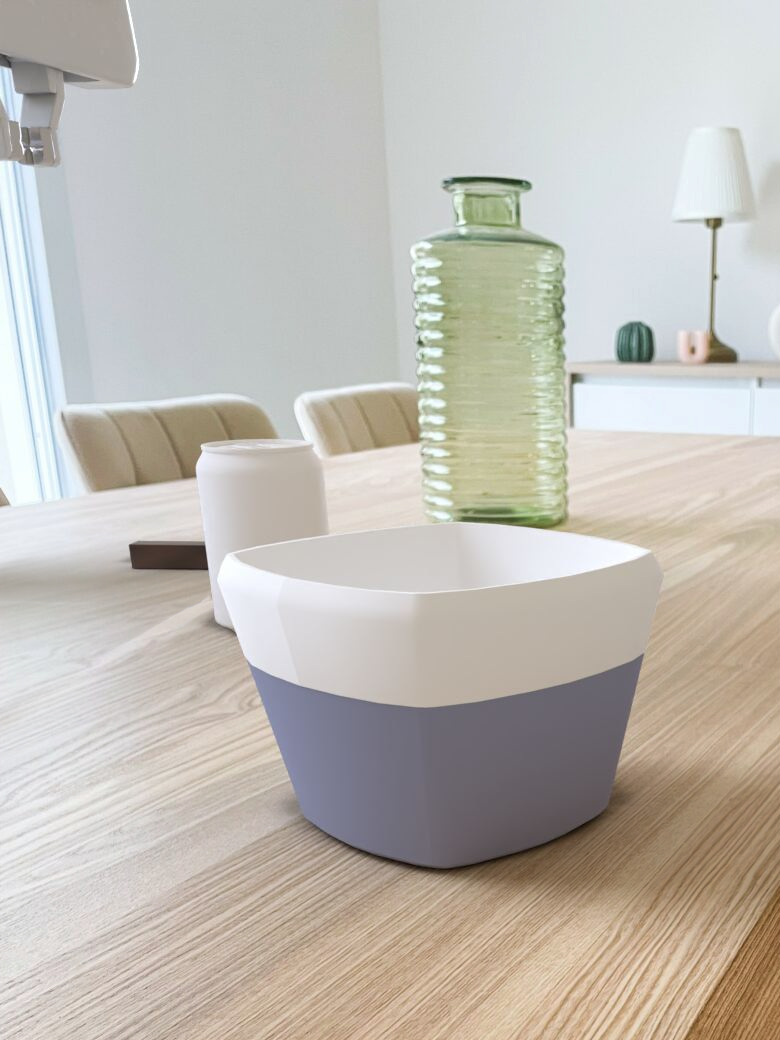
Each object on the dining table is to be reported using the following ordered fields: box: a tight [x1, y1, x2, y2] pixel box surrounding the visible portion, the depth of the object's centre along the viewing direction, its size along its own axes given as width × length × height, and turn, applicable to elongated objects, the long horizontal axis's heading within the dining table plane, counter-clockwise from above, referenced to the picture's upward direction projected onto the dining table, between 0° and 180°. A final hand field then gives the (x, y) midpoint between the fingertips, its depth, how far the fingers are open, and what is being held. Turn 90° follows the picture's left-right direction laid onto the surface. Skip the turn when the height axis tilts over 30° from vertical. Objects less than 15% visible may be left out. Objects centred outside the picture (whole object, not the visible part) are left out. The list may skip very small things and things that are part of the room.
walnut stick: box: [128, 540, 209, 570], centre depth 110 cm, size 12×2×2 cm, turn 88°
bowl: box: [217, 521, 665, 869], centre depth 54 cm, size 15×15×11 cm
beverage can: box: [195, 438, 330, 633], centre depth 87 cm, size 8×8×12 cm
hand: (20, 163), depth 68 cm, fingers closed
